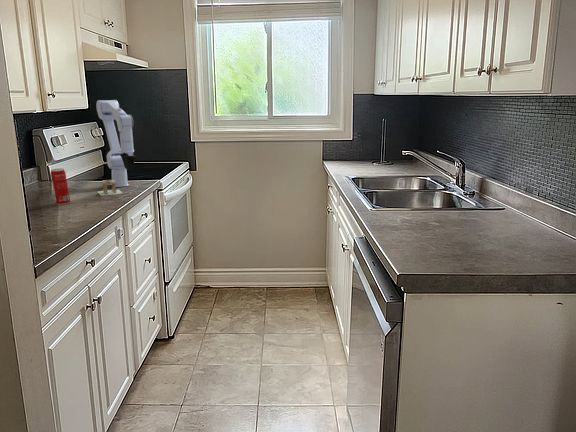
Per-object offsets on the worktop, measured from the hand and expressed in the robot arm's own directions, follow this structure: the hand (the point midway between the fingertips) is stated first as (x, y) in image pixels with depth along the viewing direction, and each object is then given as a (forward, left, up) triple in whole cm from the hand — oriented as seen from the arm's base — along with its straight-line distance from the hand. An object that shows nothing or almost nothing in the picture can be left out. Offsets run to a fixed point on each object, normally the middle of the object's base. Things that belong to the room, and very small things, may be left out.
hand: (129, 169), depth 239 cm
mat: (+2, -10, -10) cm, 15 cm away
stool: (+2, -10, -10) cm, 14 cm away
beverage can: (+15, -32, -11) cm, 37 cm away
